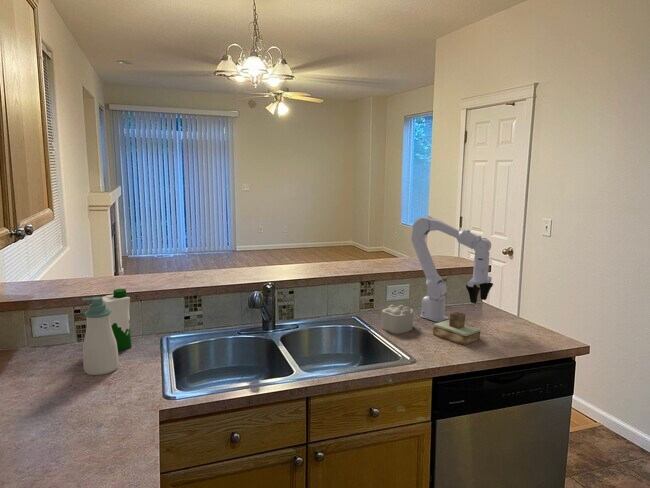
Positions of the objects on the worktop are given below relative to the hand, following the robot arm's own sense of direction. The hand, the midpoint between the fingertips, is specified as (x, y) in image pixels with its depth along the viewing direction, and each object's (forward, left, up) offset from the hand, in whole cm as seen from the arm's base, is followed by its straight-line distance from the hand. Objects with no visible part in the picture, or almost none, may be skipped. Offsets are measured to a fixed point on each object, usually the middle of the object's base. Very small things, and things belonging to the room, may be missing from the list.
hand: (478, 301), depth 187 cm
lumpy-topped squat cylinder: (-19, -27, -11) cm, 35 cm away
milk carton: (-66, -121, -11) cm, 138 cm away
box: (+2, -18, -10) cm, 21 cm away
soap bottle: (-51, -130, -11) cm, 140 cm away
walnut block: (+2, -18, -6) cm, 19 cm away
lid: (+2, -18, -7) cm, 19 cm away
